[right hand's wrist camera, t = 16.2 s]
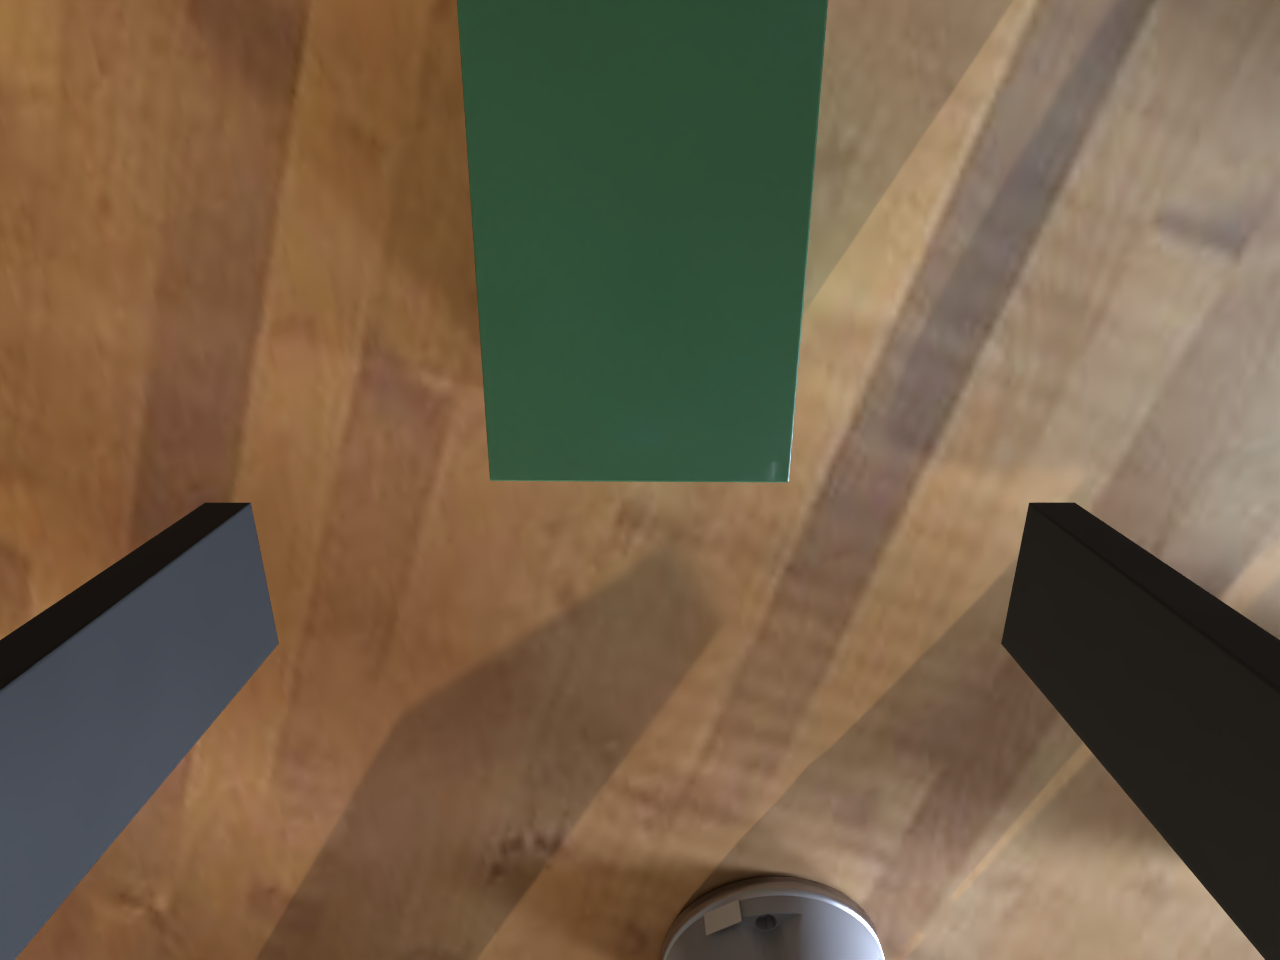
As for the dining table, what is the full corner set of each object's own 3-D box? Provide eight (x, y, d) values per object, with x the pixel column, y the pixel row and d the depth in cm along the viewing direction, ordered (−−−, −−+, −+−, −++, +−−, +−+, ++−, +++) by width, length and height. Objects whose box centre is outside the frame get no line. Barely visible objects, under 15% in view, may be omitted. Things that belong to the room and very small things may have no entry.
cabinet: (517, 23, 32) (450, -77, 21) (767, 25, 32) (834, -75, 21) (533, 402, 38) (489, 481, 27) (745, 403, 38) (789, 483, 27)
